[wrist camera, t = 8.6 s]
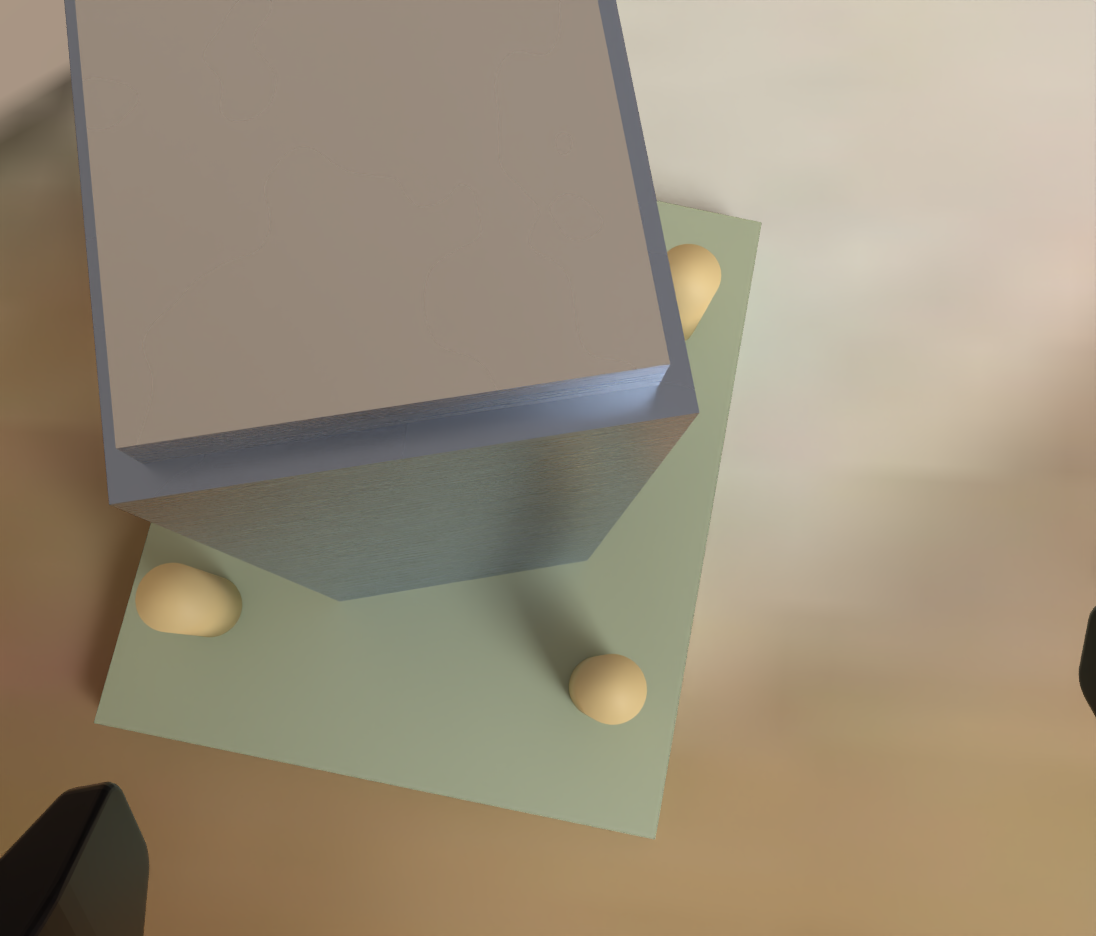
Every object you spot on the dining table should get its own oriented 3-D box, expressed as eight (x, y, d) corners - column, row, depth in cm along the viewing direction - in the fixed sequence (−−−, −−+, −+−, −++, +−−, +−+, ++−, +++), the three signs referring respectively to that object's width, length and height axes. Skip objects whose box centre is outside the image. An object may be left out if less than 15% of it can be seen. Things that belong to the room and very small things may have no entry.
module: (587, 560, 21) (713, 394, 8) (339, 601, 20) (80, 491, 8) (546, 326, 21) (602, -140, 9) (308, 361, 21) (32, -75, 9)
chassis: (647, 831, 20) (676, 864, 17) (113, 720, 20) (35, 730, 17) (750, 241, 23) (793, 167, 20) (276, 142, 23) (236, 50, 20)
